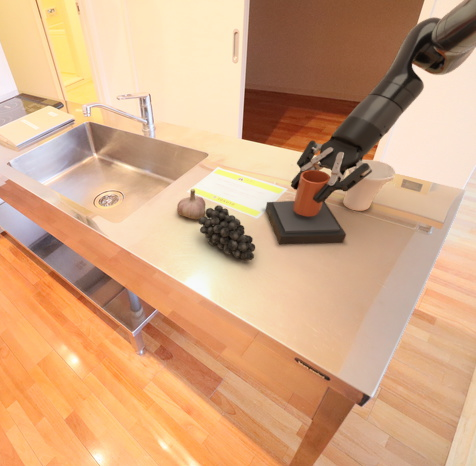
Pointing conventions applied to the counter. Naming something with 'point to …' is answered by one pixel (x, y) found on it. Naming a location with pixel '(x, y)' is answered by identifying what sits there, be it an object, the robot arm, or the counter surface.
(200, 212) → the garlic bulb
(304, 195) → the terracotta cup
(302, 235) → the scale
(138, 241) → the counter surface
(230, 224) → the fruit
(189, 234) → the counter surface
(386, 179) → the cup
